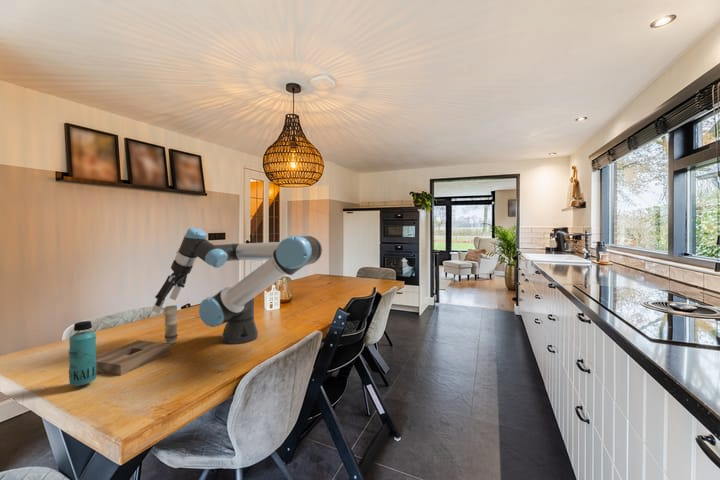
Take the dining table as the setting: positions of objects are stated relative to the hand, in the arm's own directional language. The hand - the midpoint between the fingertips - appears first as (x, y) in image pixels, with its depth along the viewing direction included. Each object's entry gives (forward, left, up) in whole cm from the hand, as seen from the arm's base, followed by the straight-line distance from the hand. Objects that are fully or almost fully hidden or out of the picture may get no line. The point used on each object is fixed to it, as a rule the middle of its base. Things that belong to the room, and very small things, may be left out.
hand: (164, 304), depth 133 cm
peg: (-4, 0, -16) cm, 17 cm away
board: (-4, +18, -16) cm, 25 cm away
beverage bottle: (-7, +37, -17) cm, 41 cm away
